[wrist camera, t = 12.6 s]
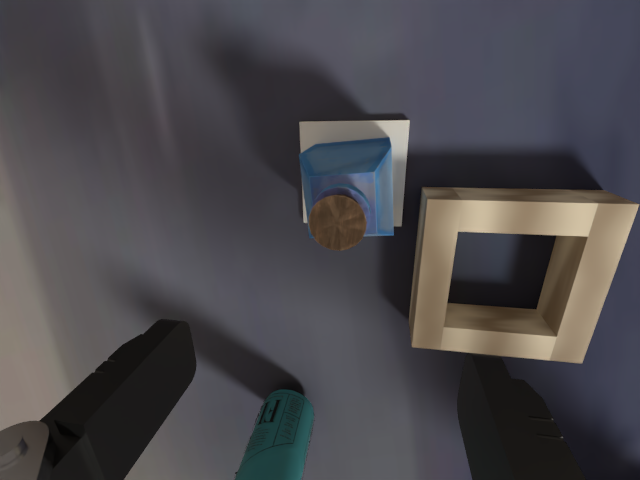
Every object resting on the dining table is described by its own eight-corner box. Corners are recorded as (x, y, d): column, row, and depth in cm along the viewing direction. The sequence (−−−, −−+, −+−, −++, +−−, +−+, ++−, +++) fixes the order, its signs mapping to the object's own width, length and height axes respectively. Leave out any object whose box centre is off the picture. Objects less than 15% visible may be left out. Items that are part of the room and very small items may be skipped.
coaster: (409, 119, 27) (409, 120, 26) (401, 224, 30) (401, 226, 30) (300, 121, 28) (299, 121, 28) (305, 220, 32) (303, 222, 31)
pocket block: (603, 190, 26) (639, 204, 23) (558, 333, 32) (582, 363, 28) (421, 186, 29) (427, 199, 25) (408, 320, 34) (411, 347, 30)
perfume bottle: (315, 144, 28) (273, 170, 17) (389, 137, 27) (394, 160, 16) (322, 213, 30) (289, 275, 20) (391, 209, 29) (397, 273, 18)
